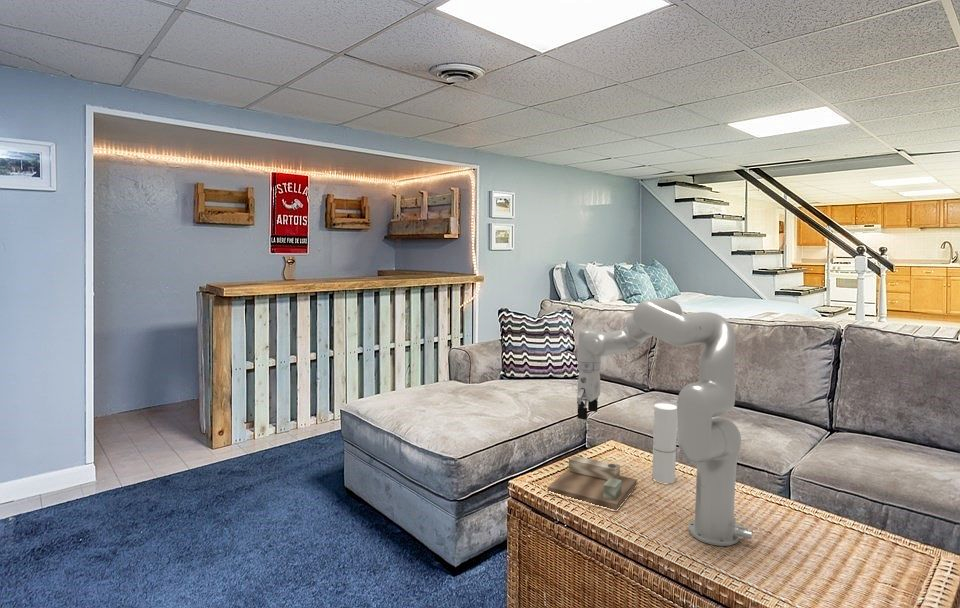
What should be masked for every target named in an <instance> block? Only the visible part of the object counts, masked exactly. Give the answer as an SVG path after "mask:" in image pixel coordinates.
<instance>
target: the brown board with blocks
mask: <svg viewBox="0 0 960 608" xmlns="http://www.w3.org/2000/svg"><path fill="white" fill-rule="evenodd" d="M637 482H638V480H637V479H635V478H633V477H627V476H623V475H620V477H619V479H614V478H610V479H609V480H605V479H601V478H597V477H592V476H588V475H584V474H579V473H575V472H571V471H569V468H568V469H566V471H565V472H563V473H562V474H561V475H560V476H558V477H557V478H556V479H555V480H553V482H551V483H550V484H549V485H548V486H547V492H548V491H551V492H554V493H558V494H561V495H564V496H567V497H571V498H574V499H578V500H582V501H586V502H589V503H592V504H595V505H599V506H603V507H607V508H610V509H614V510H617V509H618V508H619V507H620V505H621V504H622V503H623V502H624V501H625V499H626V498H627V497H628V495H629V494H630V493H631V492H632V490H633V489H634V488H635V486H636V485H637V484H638V483H637ZM637 486H638V485H637ZM635 489H636V488H635ZM632 493H633V492H632ZM632 493H631V494H632ZM628 498H629V497H628ZM628 498H627V499H628ZM625 502H626V501H625ZM625 502H624V503H625ZM620 508H621V507H620Z"/></svg>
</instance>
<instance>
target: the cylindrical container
mask: <svg viewBox="0 0 960 608" xmlns="http://www.w3.org/2000/svg"><path fill="white" fill-rule="evenodd" d="M652 434H653V435H652V436H653V440H652V441H653V442H652V468H651V469H652V473H651V477H653V479H655V480H656V481H659V482H662V483H672V482H674V481H676V456H677V455H676V454H677V405H675V404H671V403H664V402H663V403H662V402H661V403H660V402H659V403H655V404H654V406H653V433H652ZM653 479H652V480H653ZM674 483H675V482H674Z"/></svg>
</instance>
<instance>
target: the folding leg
mask: <svg viewBox="0 0 960 608" xmlns="http://www.w3.org/2000/svg"><path fill="white" fill-rule="evenodd" d="M568 469H569V471H571V472H575V473H579V474H584V475H588V476H592V477H597V478H601V479H605V480H609V479H610V478H614V479H619V477H620V476H621V475H620V474H621V471H620V470H621V465H620V464H615V463H610V462H605V461H600V460H597V459H592V458H586V457H582V456H577V455H572V456H571V457H570V458H569V459H568Z"/></svg>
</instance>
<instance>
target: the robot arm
mask: <svg viewBox="0 0 960 608" xmlns="http://www.w3.org/2000/svg"><path fill="white" fill-rule="evenodd" d="M625 321H626V322H625V327H624V328H621V329H619V330H611V331H604V332H601V331H600V330H599V329H595V328H582V329H580V330H579V331H578V337H577V338H578V342H577V343H578V345H577V347H578V348H577V371H579V372H578V378H577V396H576V399H577V400H576V404H577V406H576V407H577V419H579V420H584V421H586V420H588V411H589V412H595V413H597V412H598V404H599V403H598V400H599V397H600V396H601V374H600V373H601V360H602V359H601V357H605V356H611V355H617V354H618V355H619V354H624V353H627V352H629V351H632V350H634V349H636V348H638V347H640V346H641V345H642V344H644V343H645V342H646V340H647V339H650V338H652V337H654V338H656V339H658V340H660V341H662V342H664V343H666V344H668V345H671V346H673V347H676V348H677V347H678V348H683V347H684V348H685V347H691V346H697V345H703V350H702V352H701V355H700V358H699V363H698V365H699V366H698V367H699V375H698V376H699V378H698V381H696V382H691V383H689V384H687V385H685V386H683V388H682V389H681V390H680V392H679V393H678V396H677V401H676V402H677V403H676V406H677V432H676V436H677V444H678V448H679V450H680V452H681V454H682V455H683V457H684V458H685V459H686V460H688V461H690V462H692V463H695V464H696V475H695V476H696V478H695V481H696V482H695V502H694V504H695V505H694V506H695V507H694V509H695V511H694V519H693V520H691V521H690V522H689V523H688V527H687V528H688V532H689V534H690V535H691V536H692V537H694V538H695V539H696V540H698V541H700V542H702V543H705V544H709V545H713V546H718V547H720V546H721V547H727V546H733V545H734V544H737V543H738V542H739V541H740V537H742V538H745V539H749V540H752V535H753V532H752V531H751V530H749V527H748V526H744V525H739V523H737V518H736V517H735V516H734V515H735V492H736V477H737V475H736V474H737V463H738V458H739V455H740V450H741V443H742V436H741V431H740V430H739V427H738V426H737V425H736V424H735V423H734V422H733V421H731V420H729V419H726V418H723V417H718V416H722V415H725V414H728V413H730V412H731V411H732V410H733V408H734V407H735V404H736V403H735V402H736V370H735V369H736V368H735V363H736V362H735V358H736V357H735V356H736V346H737V345H736V343H737V340H736V333H735V332H734V329H733V327H732V325H731V324H730V322H729V321H728V320H727V319H726V318H724V317H723V316H721V315H719V314H717V313H713V312H710V311H701V312H691V313H685V314H684V313H683V309H682V307H681V305H680V304H679V303H678V302H677V301H675V300H673V299H671V298H658V299H657V298H654V299H646V300H643V301H640V302H639V303H638V304H637V305H636V306H635V307H634V309H633V312H632V314H630V315H629V316H628V317H627V318H626V320H625ZM587 406H588V407H587Z"/></svg>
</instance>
